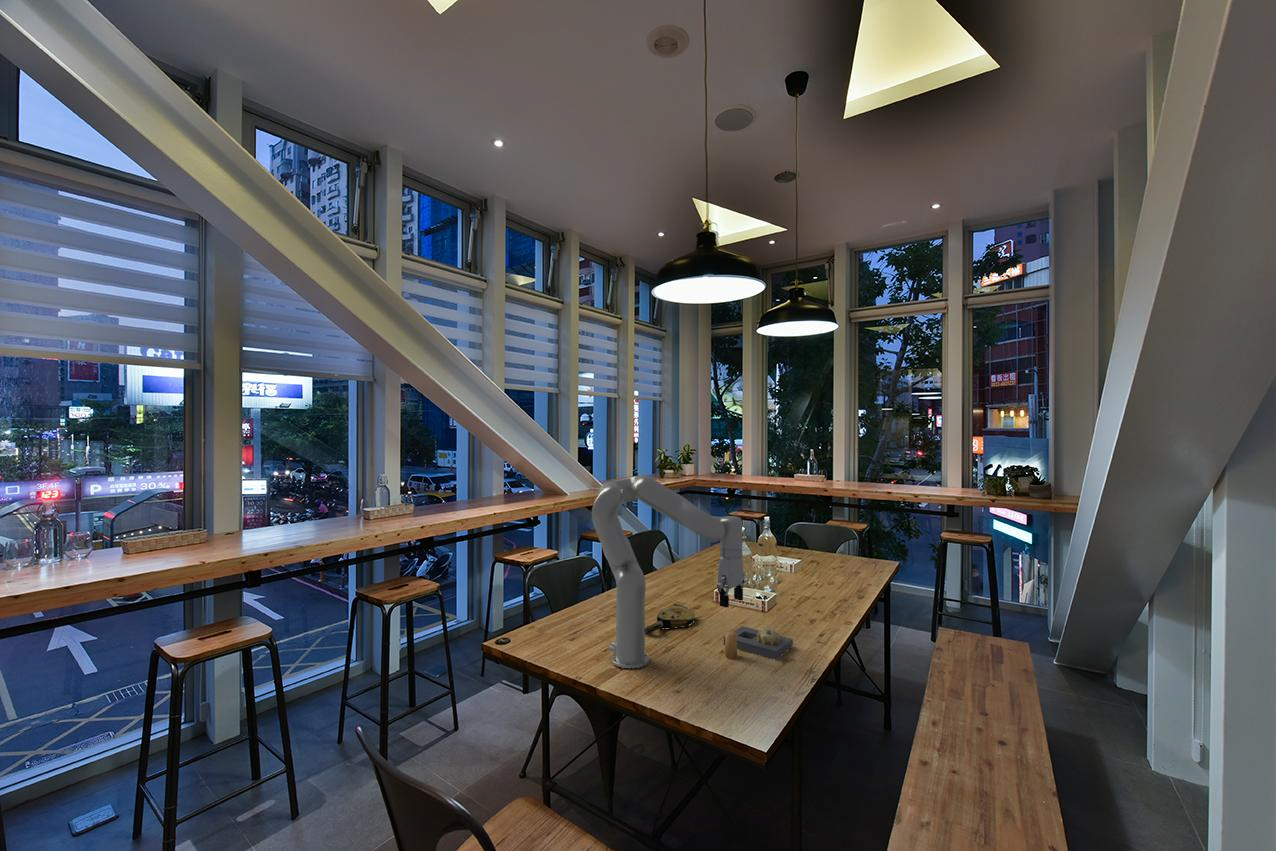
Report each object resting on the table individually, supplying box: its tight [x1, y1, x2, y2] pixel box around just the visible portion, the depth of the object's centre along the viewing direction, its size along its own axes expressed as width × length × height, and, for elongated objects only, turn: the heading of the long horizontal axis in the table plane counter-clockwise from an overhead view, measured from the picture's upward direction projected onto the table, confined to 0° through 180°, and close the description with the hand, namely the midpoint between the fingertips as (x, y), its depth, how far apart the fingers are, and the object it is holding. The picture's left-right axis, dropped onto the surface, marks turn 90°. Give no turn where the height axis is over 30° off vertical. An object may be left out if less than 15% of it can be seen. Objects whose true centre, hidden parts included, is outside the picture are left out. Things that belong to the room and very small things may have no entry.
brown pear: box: [724, 630, 738, 660], centre depth 183 cm, size 4×4×8 cm
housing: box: [723, 626, 794, 661], centre depth 192 cm, size 20×14×6 cm
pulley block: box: [645, 603, 702, 635], centre depth 213 cm, size 14×6×30 cm
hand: (731, 603), depth 183 cm, fingers open, 9 cm apart
